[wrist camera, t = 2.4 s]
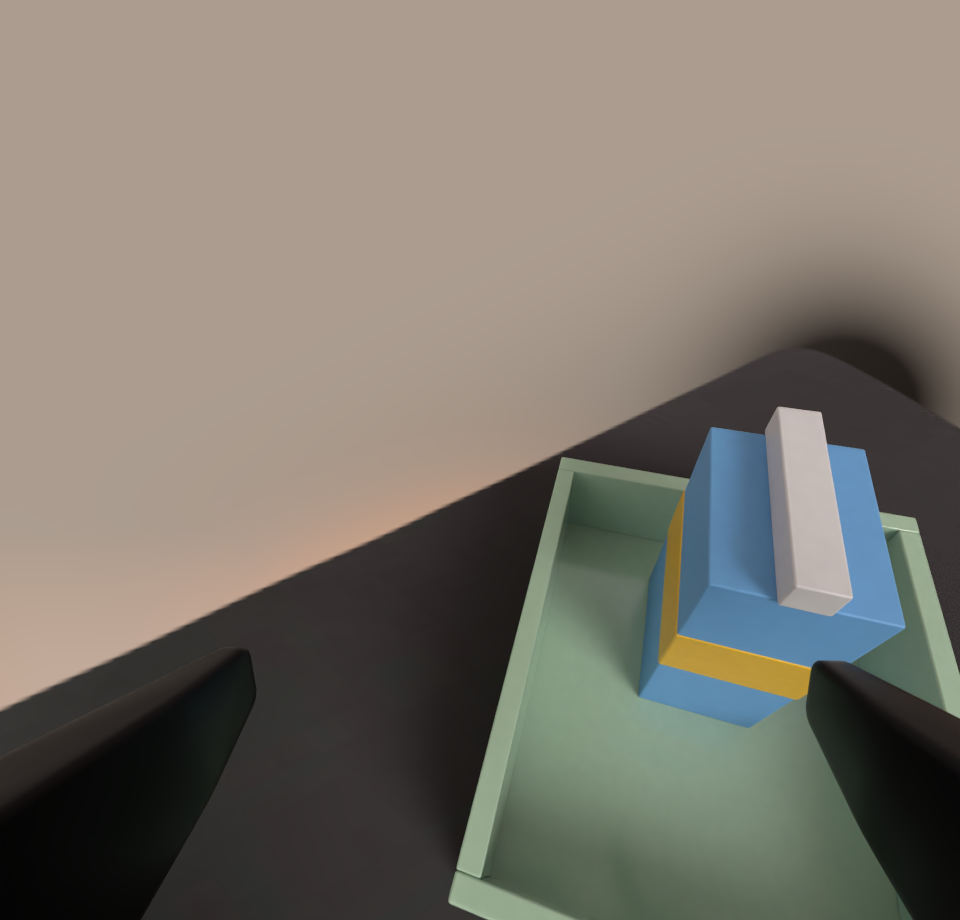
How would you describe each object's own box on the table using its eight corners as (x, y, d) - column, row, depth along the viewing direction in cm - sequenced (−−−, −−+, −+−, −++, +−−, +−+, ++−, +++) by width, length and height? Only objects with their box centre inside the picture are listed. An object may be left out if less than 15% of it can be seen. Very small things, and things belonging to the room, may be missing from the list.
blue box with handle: (751, 733, 18) (942, 617, 10) (635, 700, 19) (717, 569, 11) (746, 596, 21) (886, 419, 13) (648, 574, 22) (718, 397, 14)
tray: (939, 1090, 13) (1105, 1182, 9) (466, 894, 16) (446, 903, 13) (850, 577, 22) (916, 517, 18) (557, 517, 26) (561, 456, 22)
